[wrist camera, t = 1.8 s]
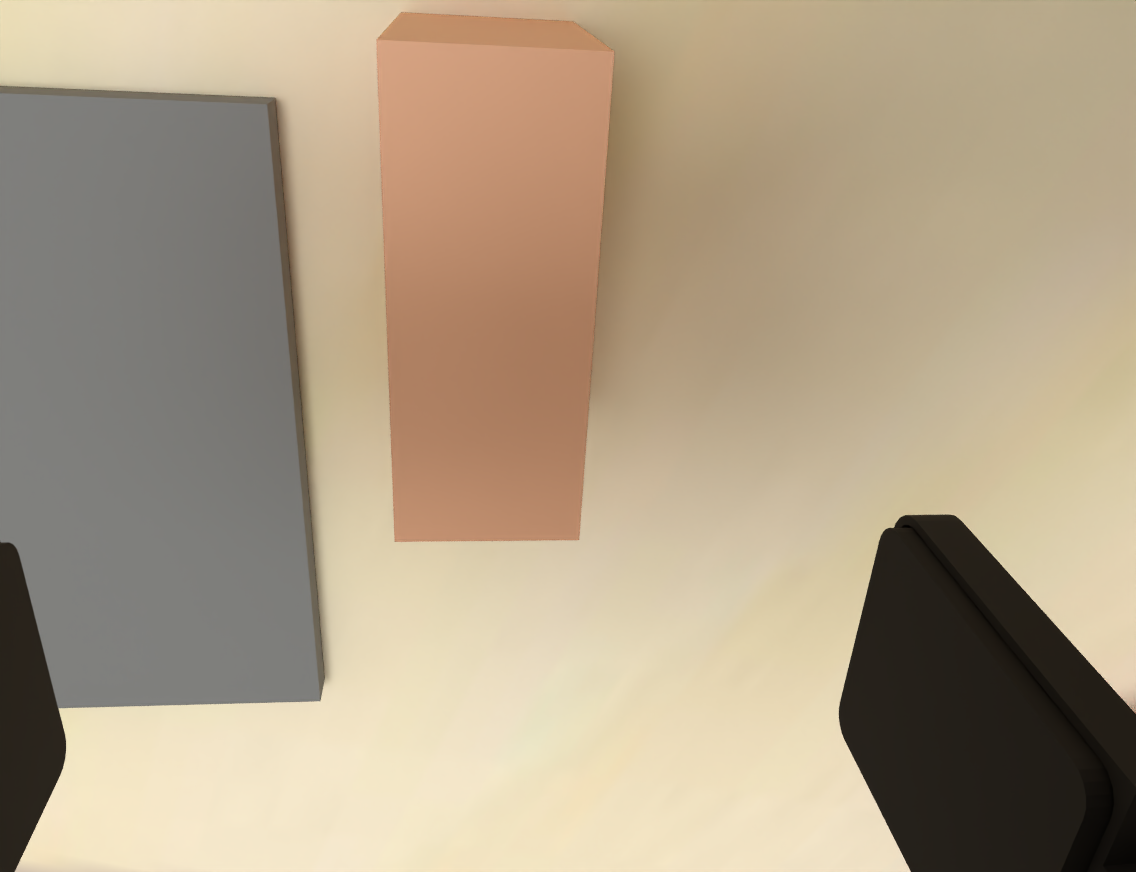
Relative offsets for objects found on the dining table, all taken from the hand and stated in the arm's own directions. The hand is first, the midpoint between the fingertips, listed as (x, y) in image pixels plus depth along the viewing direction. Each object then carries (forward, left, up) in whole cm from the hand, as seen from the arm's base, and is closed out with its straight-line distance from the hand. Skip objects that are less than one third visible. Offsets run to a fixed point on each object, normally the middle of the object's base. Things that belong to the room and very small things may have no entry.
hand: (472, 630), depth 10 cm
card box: (0, 0, -16) cm, 16 cm away
